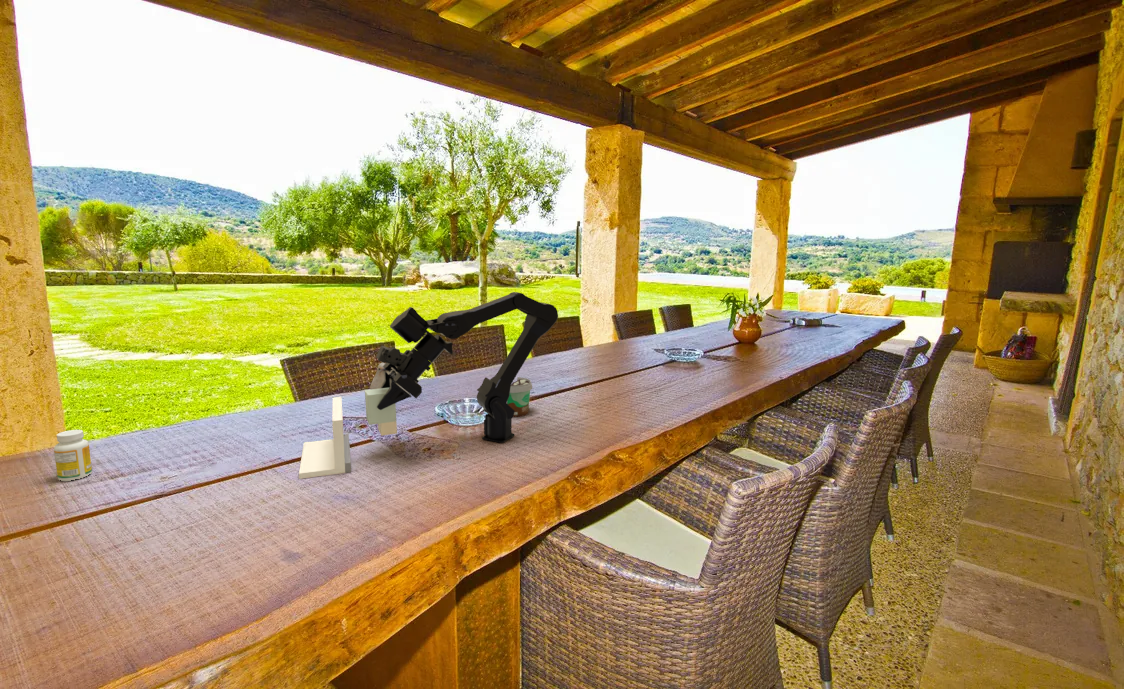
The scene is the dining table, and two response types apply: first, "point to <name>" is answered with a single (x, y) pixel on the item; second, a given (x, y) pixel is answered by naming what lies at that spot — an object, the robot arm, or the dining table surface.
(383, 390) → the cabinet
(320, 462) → the cream l-shaped piece
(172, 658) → the dining table surface
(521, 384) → the food container
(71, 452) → the supplement bottle
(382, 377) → the bird
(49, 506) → the dining table surface
